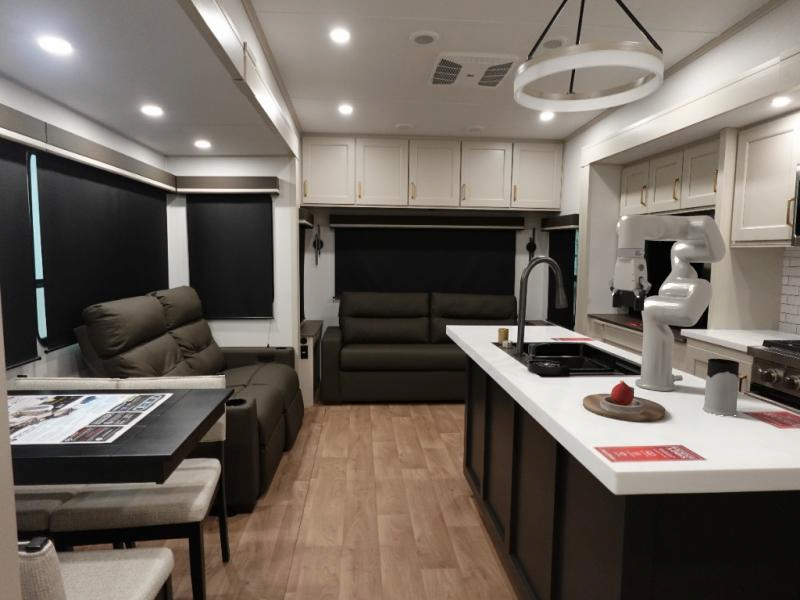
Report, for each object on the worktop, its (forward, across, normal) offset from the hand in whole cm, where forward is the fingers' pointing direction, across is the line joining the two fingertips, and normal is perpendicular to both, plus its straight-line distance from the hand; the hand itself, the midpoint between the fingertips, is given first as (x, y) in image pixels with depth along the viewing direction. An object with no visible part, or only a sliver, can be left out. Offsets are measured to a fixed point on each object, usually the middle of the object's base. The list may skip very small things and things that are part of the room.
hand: (627, 309), depth 153 cm
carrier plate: (+28, -11, +9) cm, 32 cm away
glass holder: (+28, -17, -19) cm, 38 cm away
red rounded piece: (+27, -14, +12) cm, 33 cm away
